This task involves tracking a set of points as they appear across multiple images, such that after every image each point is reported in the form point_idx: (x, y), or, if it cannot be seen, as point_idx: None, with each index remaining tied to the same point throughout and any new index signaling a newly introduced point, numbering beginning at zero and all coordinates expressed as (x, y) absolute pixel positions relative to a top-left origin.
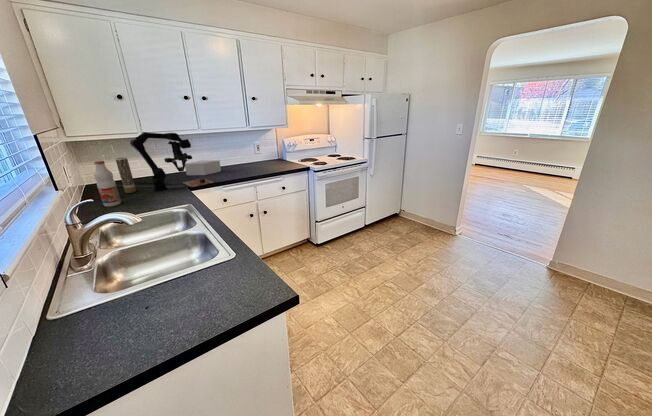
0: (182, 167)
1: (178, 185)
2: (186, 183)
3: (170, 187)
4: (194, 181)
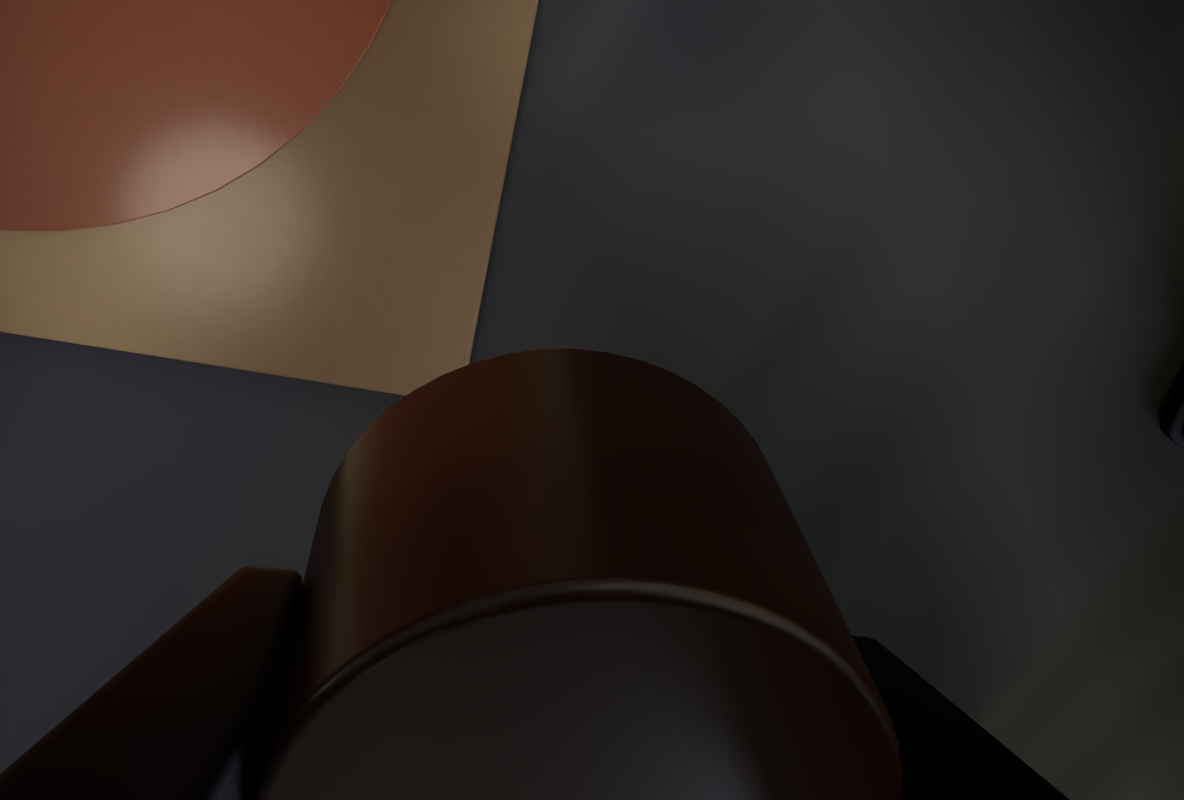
0: (514, 593)
1: (746, 235)
2: (453, 112)
3: (1063, 243)
4: (33, 49)
